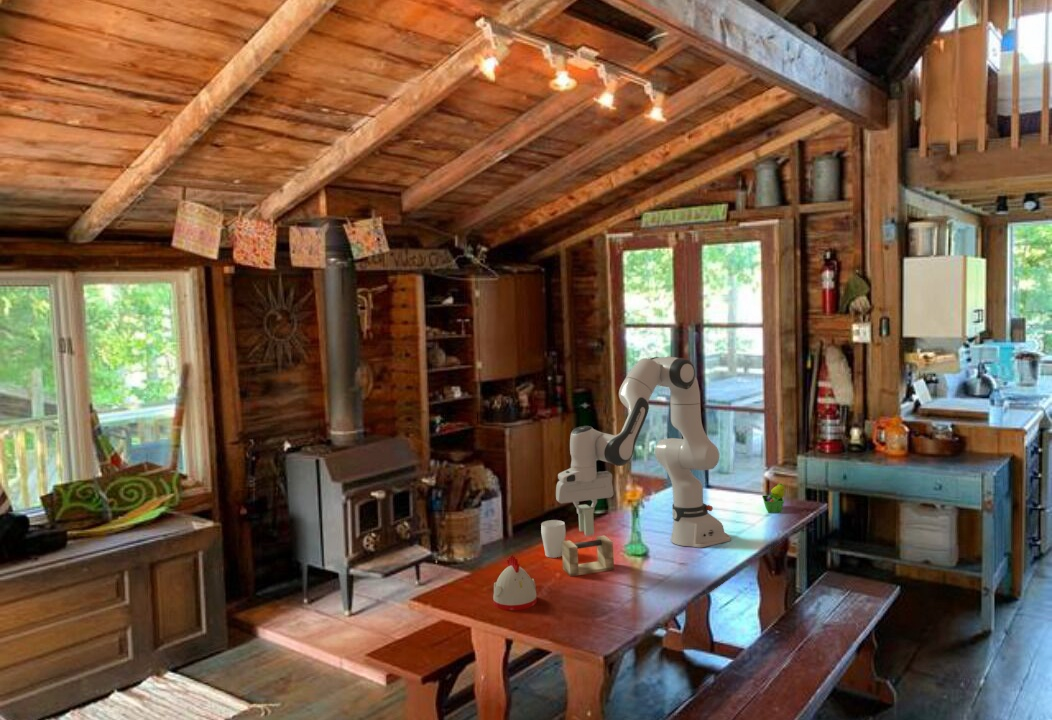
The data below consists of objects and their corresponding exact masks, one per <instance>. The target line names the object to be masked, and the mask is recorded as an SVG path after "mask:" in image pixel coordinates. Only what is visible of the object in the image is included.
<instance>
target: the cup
mask: <svg viewBox="0 0 1052 720" xmlns="http://www.w3.org/2000/svg"><path fill="white" fill-rule="evenodd" d="M540 525H541V526H540V527H541V528H540V529H541V530H540V533H541V538H542V539H541V540H542V544H543V548H544V554H545V557H547V558H551V559H556V558H557V557H558V558H561V557H562V541H566V524H565V521H562V520H558V519H551V520H545V521H542V522H541V523H540Z"/></svg>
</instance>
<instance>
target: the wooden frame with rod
mask: <svg viewBox="0 0 1052 720" xmlns="http://www.w3.org/2000/svg"><path fill="white" fill-rule="evenodd" d="M592 547H596V552H597V553H596V554H597V555H596V556H597V560H596V561H592V562H591V561H590V562H585V563H579V552H578V549H584V548H585V549H587V548H592ZM561 557H562V570H563V571H565V572H566V573H567V574H568V576H570V577H574V576H575V577H576V576H581V575H589V574H595V573H602V572H608V571H614V570H615V562H614V559H615V558H614V541H613V540H611V539H610V538H609V537H607V536H606V535H597V536H596V540H588V541H587V540H586V541H581V542H580V541H579V542H573V541H571V540H570V539H569V540H565V541H562V556H561Z"/></svg>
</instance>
